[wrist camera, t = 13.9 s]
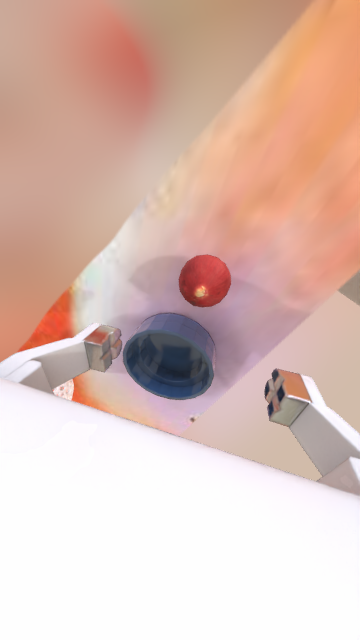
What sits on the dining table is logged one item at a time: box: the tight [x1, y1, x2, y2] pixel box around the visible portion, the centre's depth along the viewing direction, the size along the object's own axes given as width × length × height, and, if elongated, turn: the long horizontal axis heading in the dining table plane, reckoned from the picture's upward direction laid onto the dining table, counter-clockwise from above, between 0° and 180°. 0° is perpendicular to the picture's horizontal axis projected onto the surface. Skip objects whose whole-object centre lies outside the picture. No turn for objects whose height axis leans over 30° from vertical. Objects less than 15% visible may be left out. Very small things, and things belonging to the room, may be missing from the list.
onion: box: [179, 255, 231, 307], centre depth 20 cm, size 6×6×8 cm
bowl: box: [123, 313, 216, 400], centre depth 29 cm, size 14×14×5 cm
